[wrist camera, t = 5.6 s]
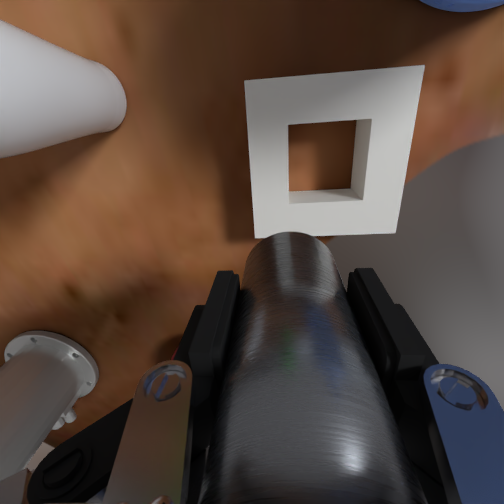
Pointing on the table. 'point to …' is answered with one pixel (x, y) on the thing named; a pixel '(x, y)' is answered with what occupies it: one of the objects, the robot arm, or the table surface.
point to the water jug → (463, 4)
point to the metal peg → (302, 393)
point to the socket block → (364, 159)
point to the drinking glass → (52, 94)
